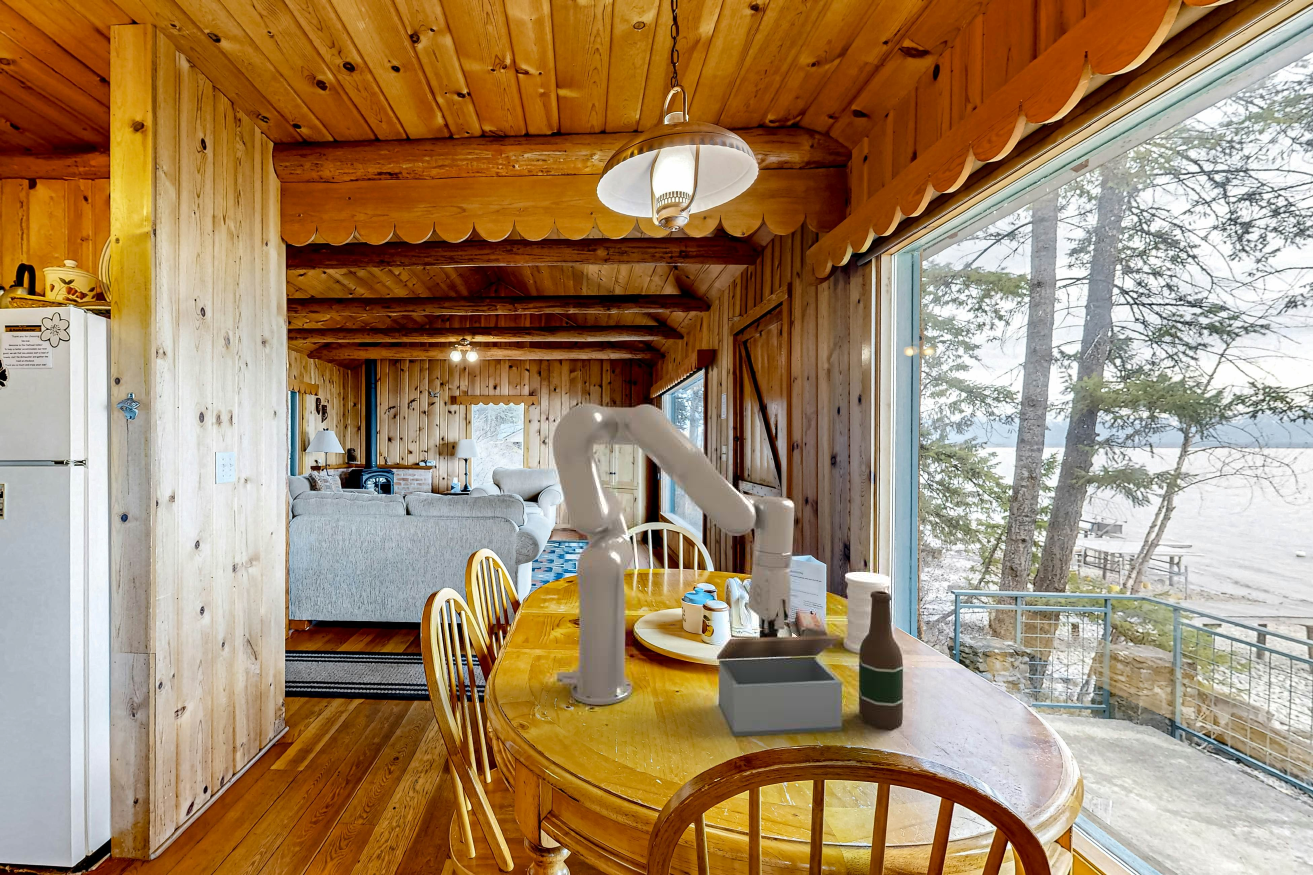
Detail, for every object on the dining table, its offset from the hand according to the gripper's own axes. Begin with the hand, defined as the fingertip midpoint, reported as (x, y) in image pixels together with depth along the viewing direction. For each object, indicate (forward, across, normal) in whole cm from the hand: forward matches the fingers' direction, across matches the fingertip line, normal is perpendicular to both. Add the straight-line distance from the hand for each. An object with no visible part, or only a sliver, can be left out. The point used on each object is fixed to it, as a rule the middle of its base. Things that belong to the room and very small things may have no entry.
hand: (767, 650), depth 111 cm
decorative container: (+10, -22, +39) cm, 46 cm away
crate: (+10, +6, 0) cm, 12 cm away
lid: (-2, +5, -1) cm, 5 cm away
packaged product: (+11, -34, +29) cm, 46 cm away
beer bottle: (+10, +11, +18) cm, 24 cm away
